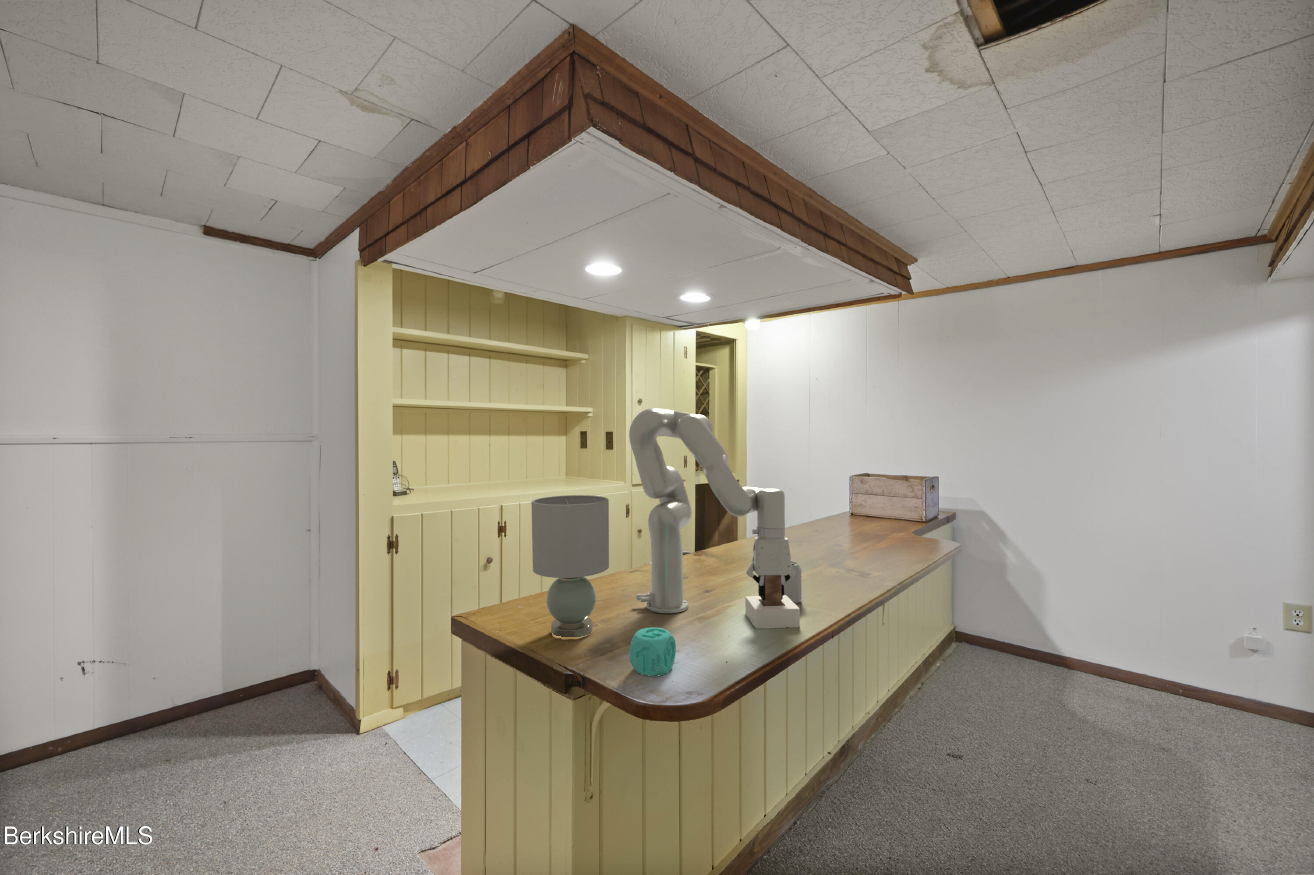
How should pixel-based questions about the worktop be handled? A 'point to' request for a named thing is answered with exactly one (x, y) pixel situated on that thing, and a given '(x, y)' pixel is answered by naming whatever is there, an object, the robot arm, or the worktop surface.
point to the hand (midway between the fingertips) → (771, 597)
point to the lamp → (570, 556)
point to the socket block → (772, 613)
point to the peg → (772, 591)
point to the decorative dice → (652, 651)
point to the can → (794, 585)
